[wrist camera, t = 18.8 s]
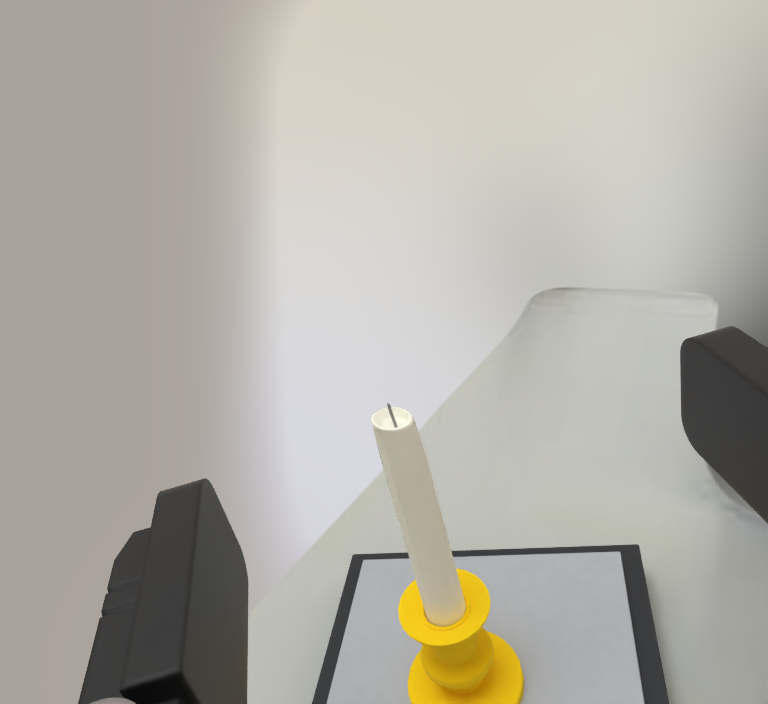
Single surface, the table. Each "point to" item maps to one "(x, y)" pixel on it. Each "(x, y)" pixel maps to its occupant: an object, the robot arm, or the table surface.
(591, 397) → the table surface
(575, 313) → the table surface
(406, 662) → the kitchen scale
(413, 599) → the candle
